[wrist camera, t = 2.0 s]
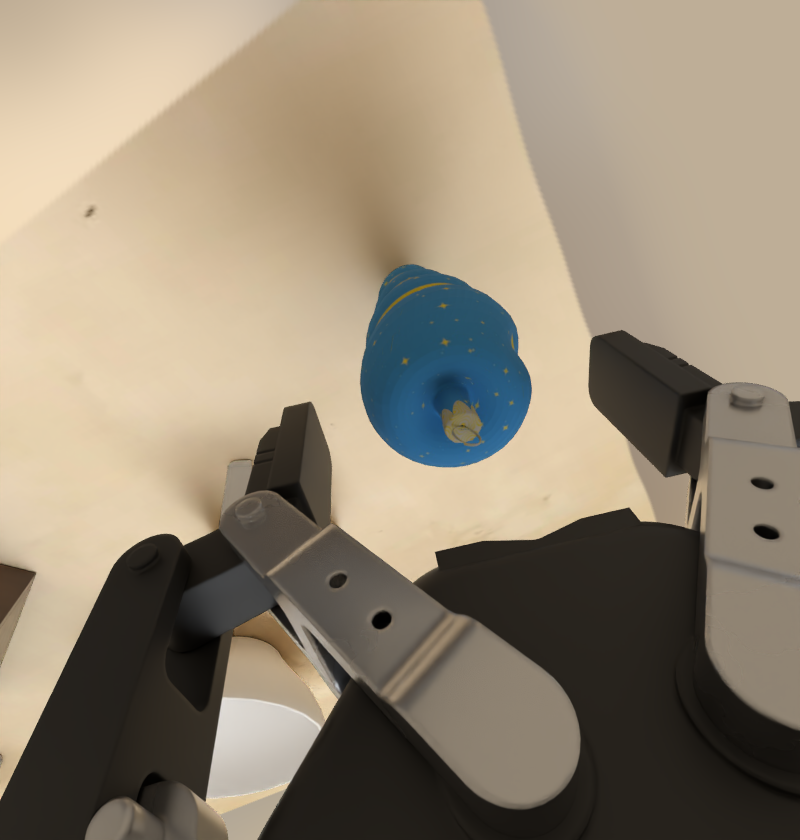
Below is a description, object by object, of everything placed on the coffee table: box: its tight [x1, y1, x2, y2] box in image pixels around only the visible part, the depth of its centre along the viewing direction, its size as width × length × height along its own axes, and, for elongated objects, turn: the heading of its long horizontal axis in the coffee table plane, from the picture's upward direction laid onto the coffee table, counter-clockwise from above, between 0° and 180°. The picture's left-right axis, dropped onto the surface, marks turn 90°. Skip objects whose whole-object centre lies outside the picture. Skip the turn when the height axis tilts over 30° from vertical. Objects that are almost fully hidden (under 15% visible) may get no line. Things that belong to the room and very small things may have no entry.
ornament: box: [360, 264, 532, 467], centre depth 17 cm, size 5×5×15 cm
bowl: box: [206, 636, 325, 798], centre depth 36 cm, size 16×16×7 cm
